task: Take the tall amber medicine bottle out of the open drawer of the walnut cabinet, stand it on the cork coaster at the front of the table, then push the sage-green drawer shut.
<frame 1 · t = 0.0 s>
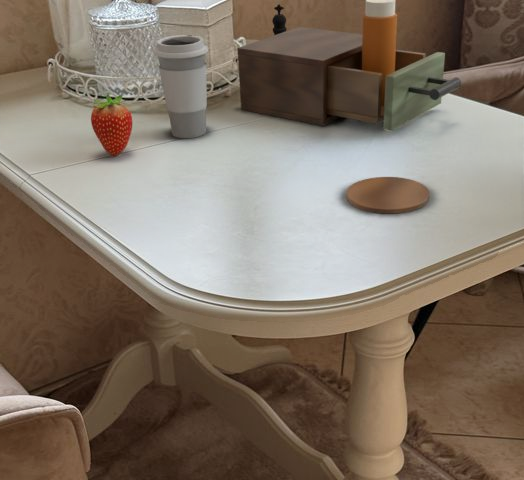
fruit: (117, 155, 102), on the table
pill bottle: (377, 101, 109), point 2 cm above the table, touching drawer
coaster: (387, 196, 87), on the table
drawer: (389, 86, 106), point 4 cm above the table, slide at 9.0 cm, touching pill bottle
cabinet: (311, 103, 116), on the table
cup: (189, 134, 108), on the table
chess piece: (281, 69, 133), on the table
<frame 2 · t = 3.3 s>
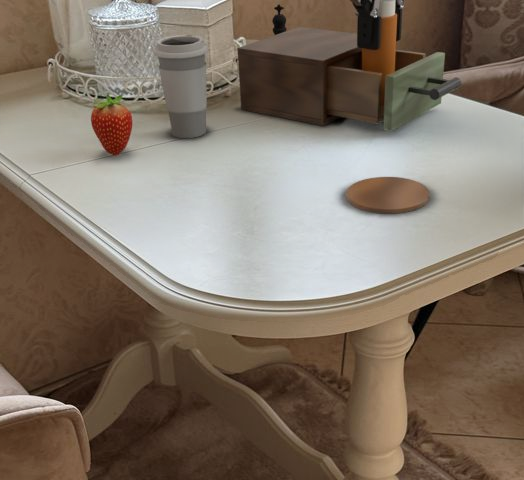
hand: (379, 42, 104), 10 cm above the table, tool pointing down, fingers closed on pill bottle, 4 cm apart
pill bottle: (377, 101, 109), point 2 cm above the table, touching drawer, gripper
everything else where it was.
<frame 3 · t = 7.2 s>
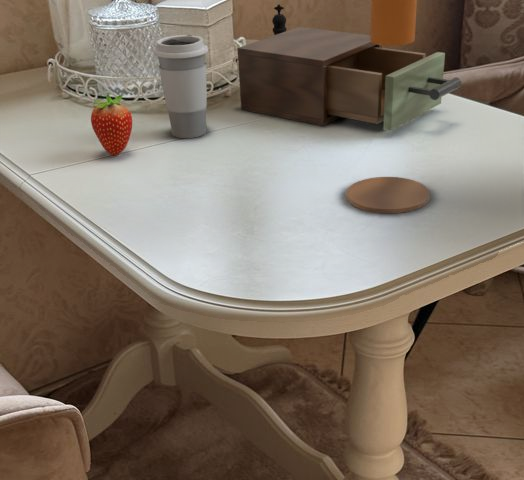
pill bottle: (392, 40, 79), point 16 cm above the table, touching gripper
drawer: (389, 86, 106), point 4 cm above the table, slide at 9.0 cm
everything else where it was.
when the fingers open (8 cm above the table, at t = 11.2 s): pill bottle stays where it is, resting on coaster.
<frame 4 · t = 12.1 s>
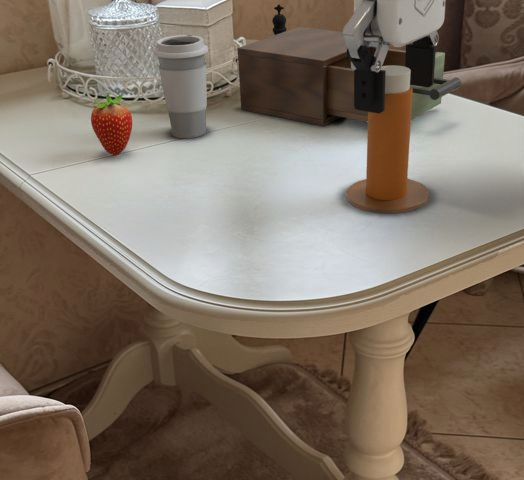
hand: (394, 97, 81), 11 cm above the table, tool pointing down, fingers open, 9 cm apart
pill bottle: (386, 192, 86), resting on coaster
everything else where it was.
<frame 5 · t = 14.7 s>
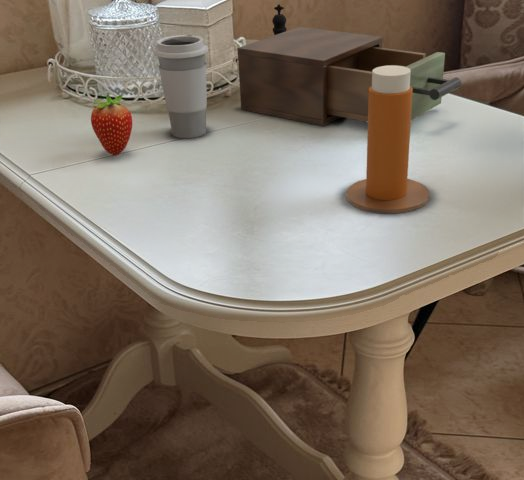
nothing on the table moved.
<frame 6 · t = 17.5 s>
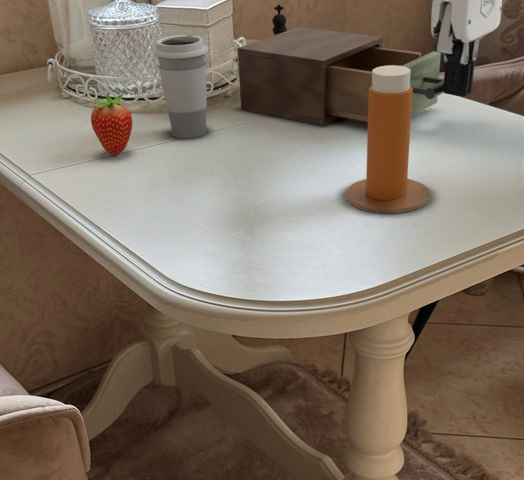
hand: (457, 93, 101), 5 cm above the table, tool pointing down, fingers closed
drawer: (385, 85, 107), point 4 cm above the table, slide at 8.4 cm, touching gripper
everything else where it was.
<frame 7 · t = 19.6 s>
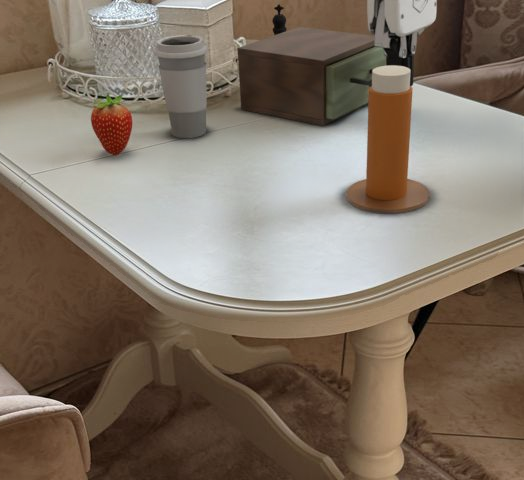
hand: (399, 86, 105), 5 cm above the table, tool pointing down, fingers closed
drawer: (333, 77, 111), point 4 cm above the table, slide at 0.0 cm, touching cabinet, gripper
everything else where it was.
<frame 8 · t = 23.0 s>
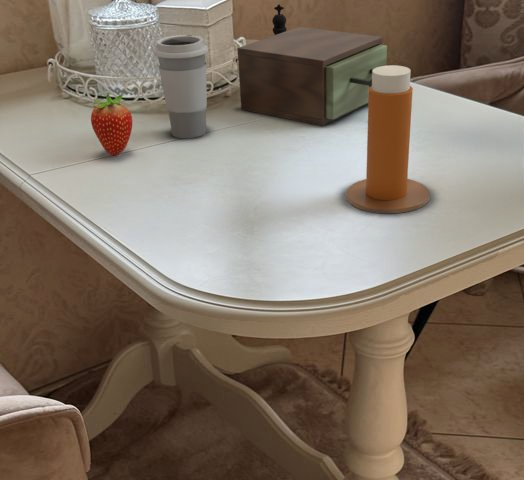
drawer: (333, 77, 111), point 4 cm above the table, slide at 0.0 cm, touching cabinet
everything else where it was.
at the end: pill bottle 0.2 cm off-centre on the coaster, point 0.5 cm above the coaster's base; pill bottle tilted 0°; drawer slide at 0.0 cm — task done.
